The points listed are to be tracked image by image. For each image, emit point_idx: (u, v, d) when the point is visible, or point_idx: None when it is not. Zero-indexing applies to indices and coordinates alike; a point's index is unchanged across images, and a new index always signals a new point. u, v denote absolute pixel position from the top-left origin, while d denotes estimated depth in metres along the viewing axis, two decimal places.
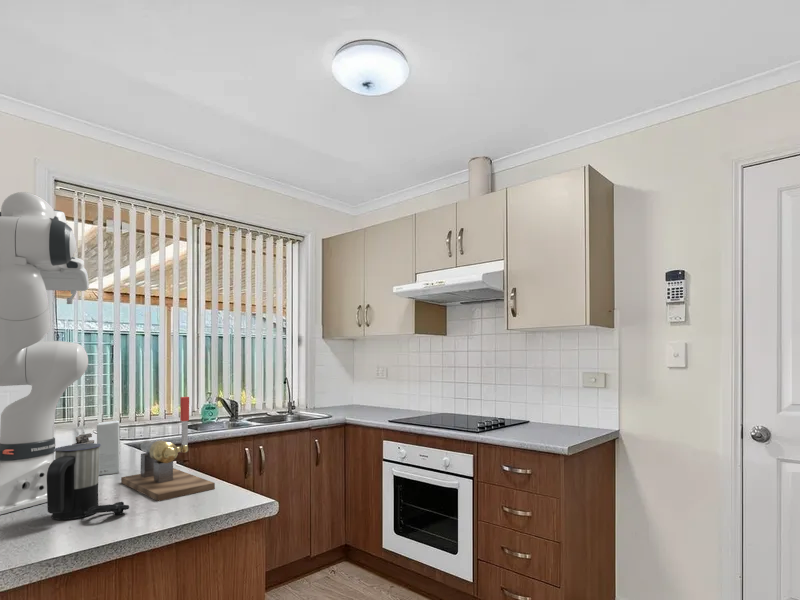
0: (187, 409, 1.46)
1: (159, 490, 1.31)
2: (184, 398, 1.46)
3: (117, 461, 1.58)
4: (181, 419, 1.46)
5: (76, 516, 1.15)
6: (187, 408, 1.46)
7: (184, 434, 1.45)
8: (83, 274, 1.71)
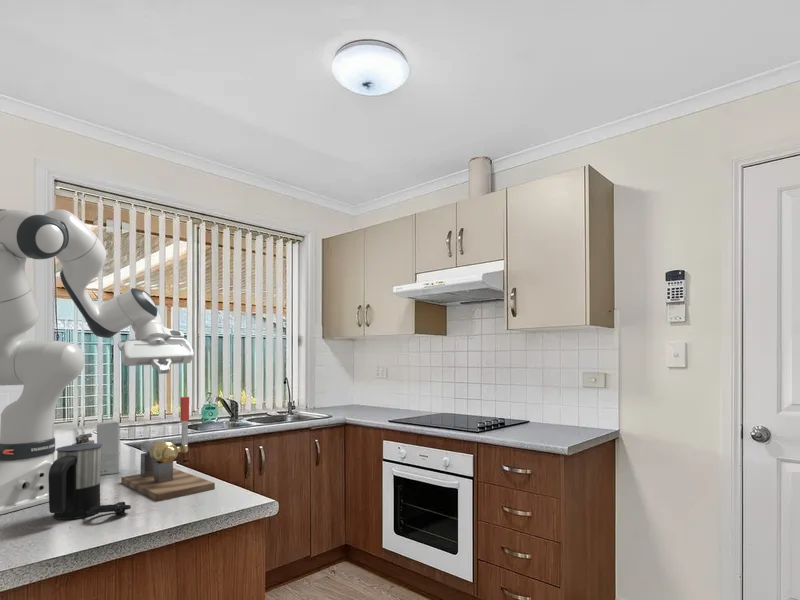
0: (187, 409, 1.46)
1: (159, 490, 1.31)
2: (184, 398, 1.46)
3: (117, 461, 1.58)
4: (181, 419, 1.46)
5: (78, 516, 1.15)
6: (187, 408, 1.46)
7: (184, 434, 1.45)
8: (187, 342, 1.68)
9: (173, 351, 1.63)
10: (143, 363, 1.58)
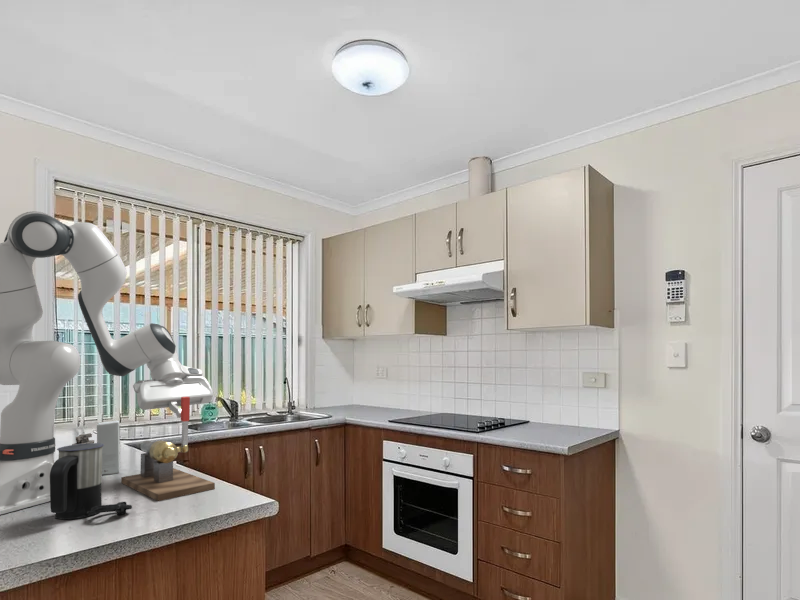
0: (188, 409, 1.46)
1: (159, 490, 1.31)
2: (185, 398, 1.46)
3: (117, 461, 1.58)
4: (181, 419, 1.46)
5: (79, 516, 1.15)
6: (188, 408, 1.46)
7: (184, 434, 1.45)
8: (206, 380, 1.58)
9: (192, 391, 1.53)
10: (160, 406, 1.48)
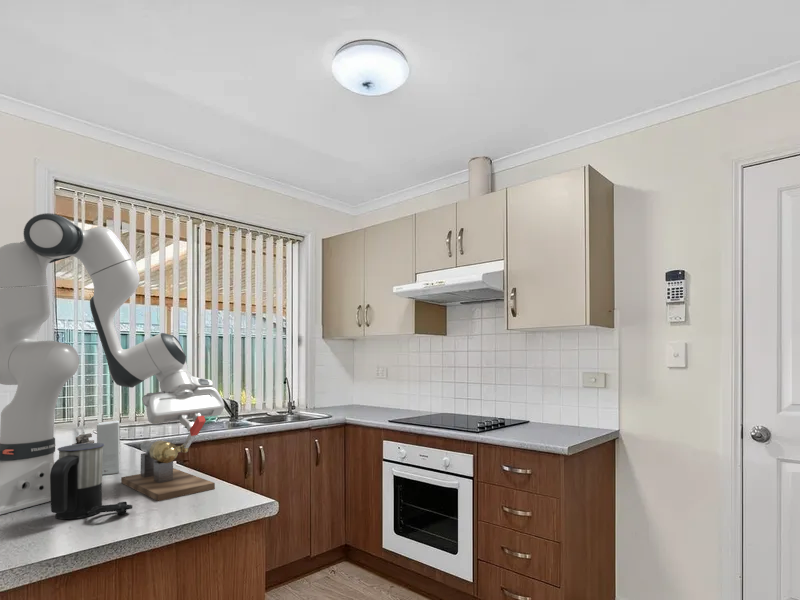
0: (199, 428, 1.40)
1: (159, 490, 1.31)
2: (200, 422, 1.38)
3: (117, 461, 1.58)
4: (190, 432, 1.41)
5: (79, 516, 1.15)
6: (200, 428, 1.40)
7: (188, 442, 1.43)
8: (216, 391, 1.53)
9: (202, 404, 1.48)
10: (170, 419, 1.43)
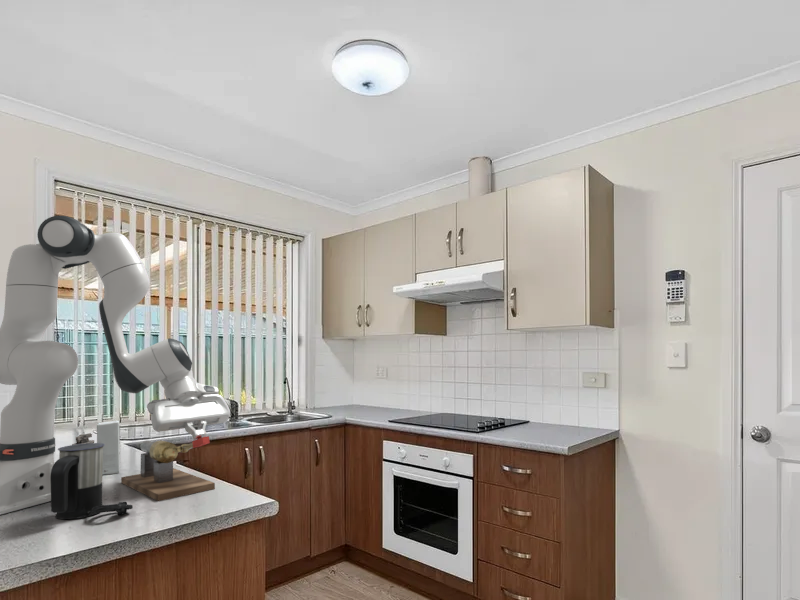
0: (202, 445, 1.39)
1: (159, 490, 1.31)
2: (204, 444, 1.36)
3: (117, 461, 1.58)
4: (193, 443, 1.40)
5: (80, 516, 1.15)
6: (202, 445, 1.39)
7: (189, 448, 1.43)
8: (222, 398, 1.51)
9: (208, 411, 1.45)
10: (176, 427, 1.40)
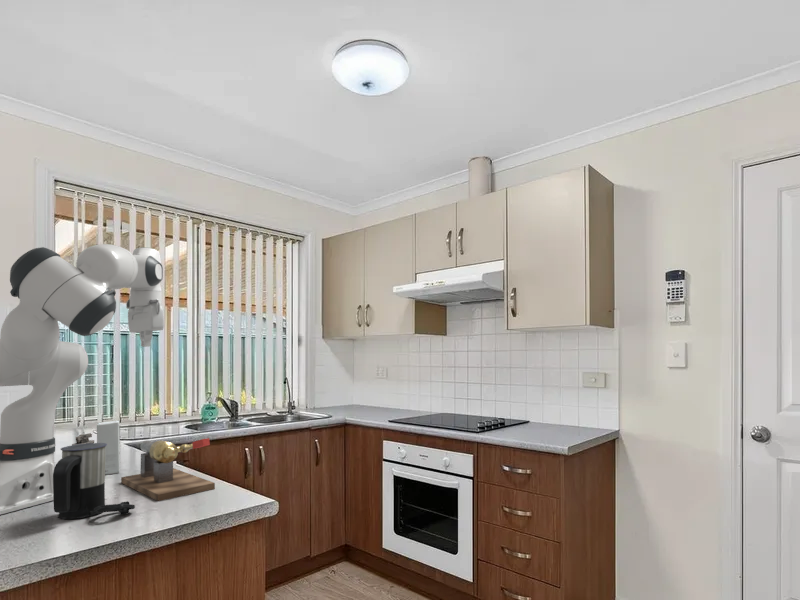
0: (202, 446, 1.39)
1: (159, 490, 1.31)
2: (204, 445, 1.36)
3: (117, 461, 1.58)
4: (193, 444, 1.40)
5: (82, 515, 1.15)
6: (203, 446, 1.39)
7: (189, 449, 1.43)
8: None
9: None
10: None
